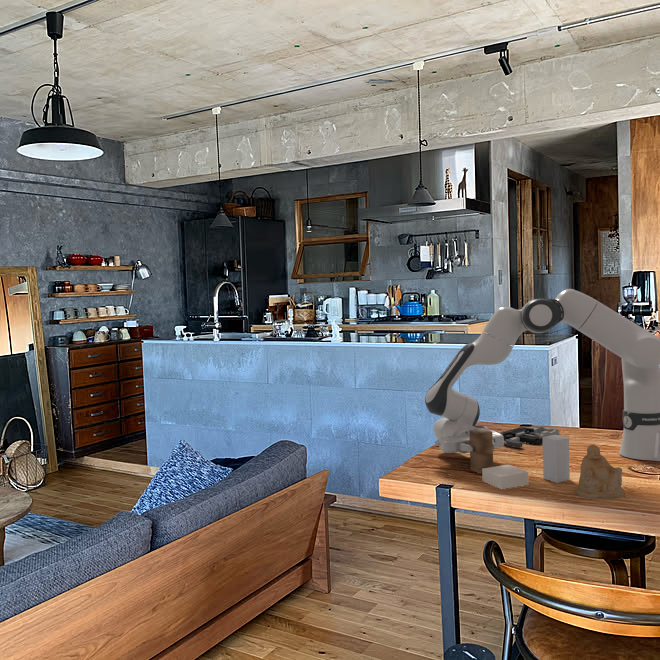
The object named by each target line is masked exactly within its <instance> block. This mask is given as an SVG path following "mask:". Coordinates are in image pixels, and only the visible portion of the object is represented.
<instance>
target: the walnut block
mask: <svg viewBox="0 0 660 660" xmlns="http://www.w3.org/2000/svg"><path fill="white" fill-rule="evenodd" d="M489 430H490V429H488V430H486V429H478V430H469V432H470V445H472V446H474V452H469V458H470V459H469V461H470V463H469V464H470V470H471V471H473V472H474V473H476V472H477V474H482V469H483V468H490V467H494V449H493V436H492V432H491V431H489Z"/></svg>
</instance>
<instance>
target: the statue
mask: <svg viewBox="0 0 660 660" xmlns="http://www.w3.org/2000/svg"><path fill="white" fill-rule="evenodd" d="M622 473H623V468H621V467H620V466H617V467H615V466H613V465H611V464H610V463H609V461H608V460H607V458H606V457H605V456H603V455H602V454H601V449H600V447H599V446H598V445H596V444H591V445H588V447H587V448H586V455H585V456H584V457H582V460H581V463H580V475H579V480H578V485H577V486H576V487H575V490H574V494H575V493H576V494H577V495H576V494H575V495H576V496H578V497H581V498H583V497H584V498H583V499H587V498H588V499H587V500H594V499H603V500H615V499H620V498H625V497H626V495H625V490H624V489H623V487H622V484H623V475H622Z"/></svg>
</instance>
